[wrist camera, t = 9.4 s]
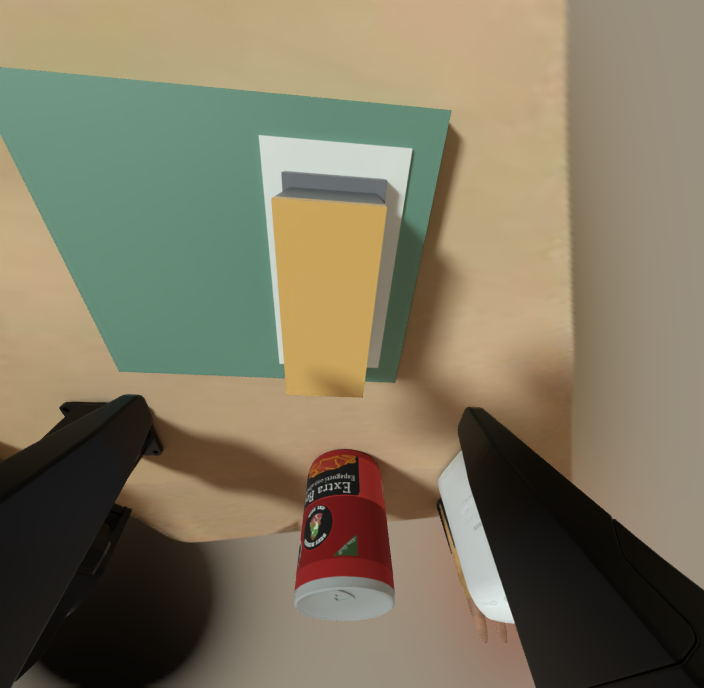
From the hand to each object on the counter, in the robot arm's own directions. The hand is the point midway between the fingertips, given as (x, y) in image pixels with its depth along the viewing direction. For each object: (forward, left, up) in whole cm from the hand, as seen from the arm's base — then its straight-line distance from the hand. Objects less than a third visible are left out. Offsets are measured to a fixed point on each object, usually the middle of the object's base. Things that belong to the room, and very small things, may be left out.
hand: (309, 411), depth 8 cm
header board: (0, +5, -12) cm, 13 cm away
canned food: (-22, -2, -12) cm, 25 cm away
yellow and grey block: (0, 0, -9) cm, 9 cm away
